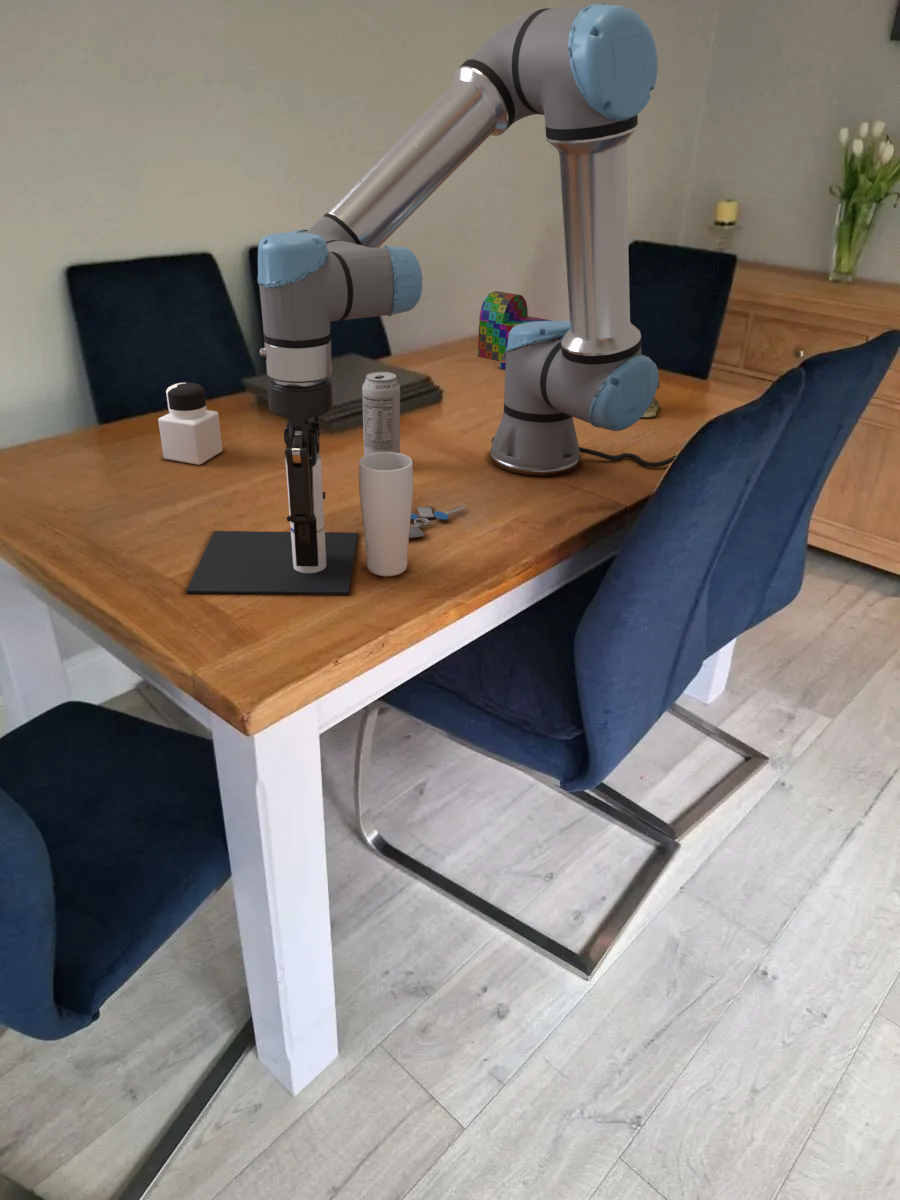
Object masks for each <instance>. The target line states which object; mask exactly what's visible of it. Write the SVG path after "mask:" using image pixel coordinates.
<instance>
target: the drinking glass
mask: <svg viewBox="0 0 900 1200" xmlns="http://www.w3.org/2000/svg"><path fill="white" fill-rule="evenodd" d="M358 492H359V494H358V495H359V503H360V511H361V519H362V528H363V536H364V544H365V552H366V553H365V554H366V556H365V557H366V568H367V569H368V571H369V572H370V573H371V574H374V575H376V576H380V577H395V576H398V575H401V574H402V573H404V572H405V571H406V570H407V568H408V558H409V557H408V553H409V542H410V538H409V531H410V527H411V521H412V520H411V512H413V511H412V510H413V509H412V508H413V498H414V462H413V459H412V458H411V457H410V456H408V455H406V454H404V453H401V452H400V453H396V452H376V453H371V454H368V455H365V456H364V455H363V456H362V457H360V459H359V461H358Z"/></svg>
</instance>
